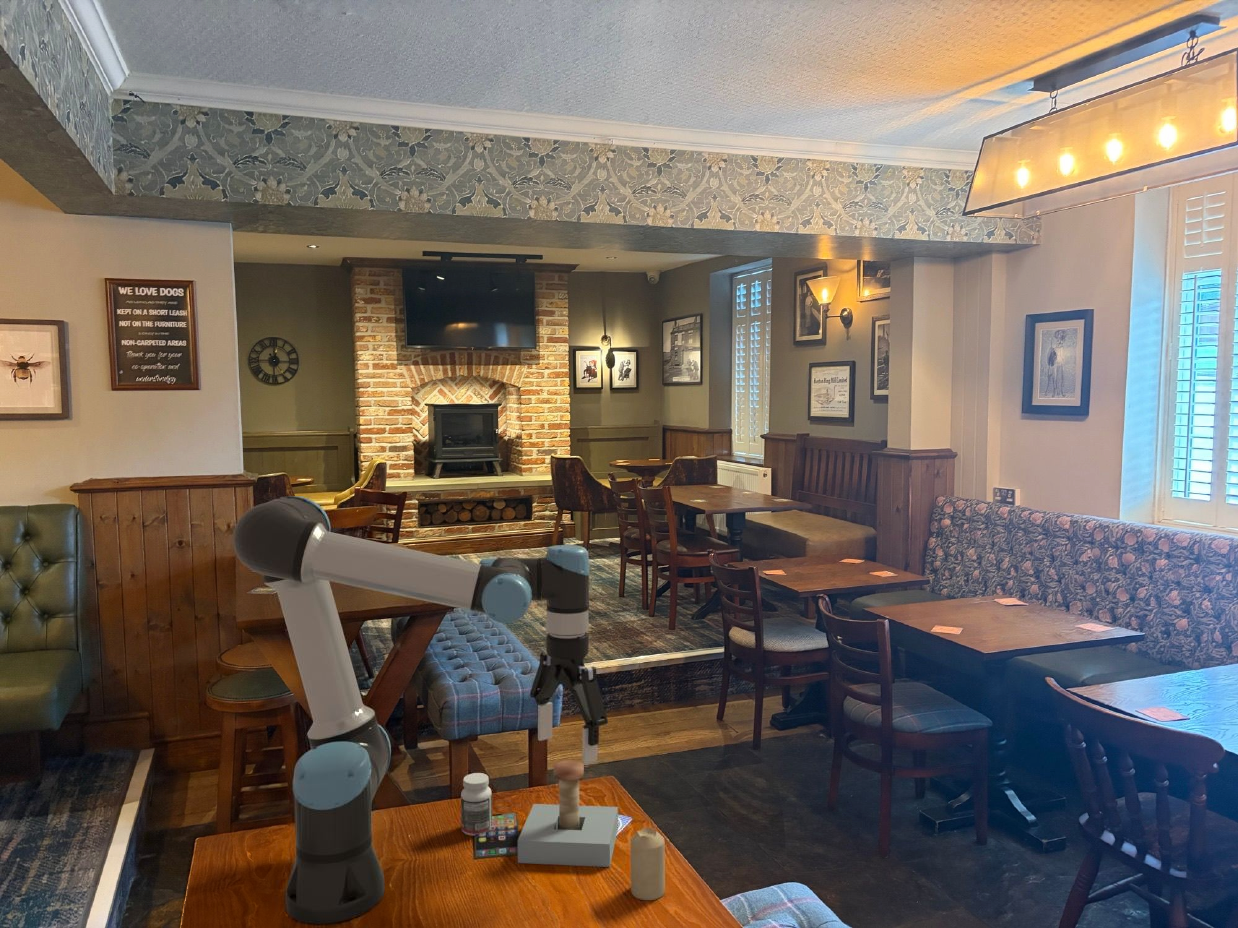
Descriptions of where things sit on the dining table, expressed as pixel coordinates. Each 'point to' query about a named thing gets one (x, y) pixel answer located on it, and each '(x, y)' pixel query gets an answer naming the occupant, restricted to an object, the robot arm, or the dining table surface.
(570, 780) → the peg
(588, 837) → the block
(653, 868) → the candle
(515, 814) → the smartphone
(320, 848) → the robot arm
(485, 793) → the pill bottle
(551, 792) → the dining table surface
